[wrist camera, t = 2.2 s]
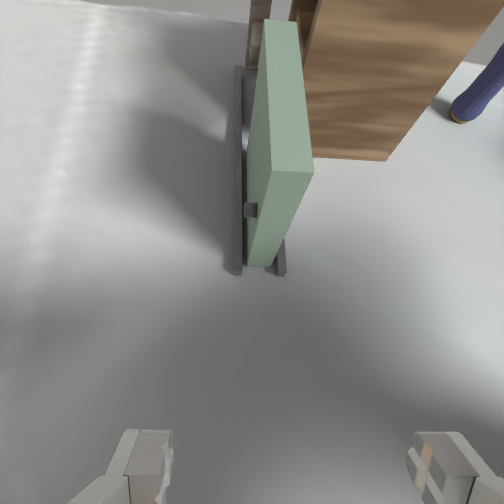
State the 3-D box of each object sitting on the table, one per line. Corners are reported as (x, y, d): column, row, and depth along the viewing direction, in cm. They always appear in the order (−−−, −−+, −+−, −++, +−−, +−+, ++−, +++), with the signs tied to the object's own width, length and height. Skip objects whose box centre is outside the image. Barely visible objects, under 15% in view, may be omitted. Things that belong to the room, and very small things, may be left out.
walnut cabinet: (385, 161, 40) (527, -26, 22) (246, 153, 38) (273, -60, 20) (365, 74, 46) (462, -127, 28) (245, 64, 44) (265, -160, 26)
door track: (283, 276, 32) (286, 272, 31) (233, 275, 32) (234, 271, 31) (272, 76, 44) (273, 69, 43) (235, 73, 43) (235, 65, 42)
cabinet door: (270, 267, 33) (314, 172, 18) (237, 266, 32) (254, 169, 18) (265, 151, 39) (295, 10, 24) (237, 150, 38) (250, 5, 24)
